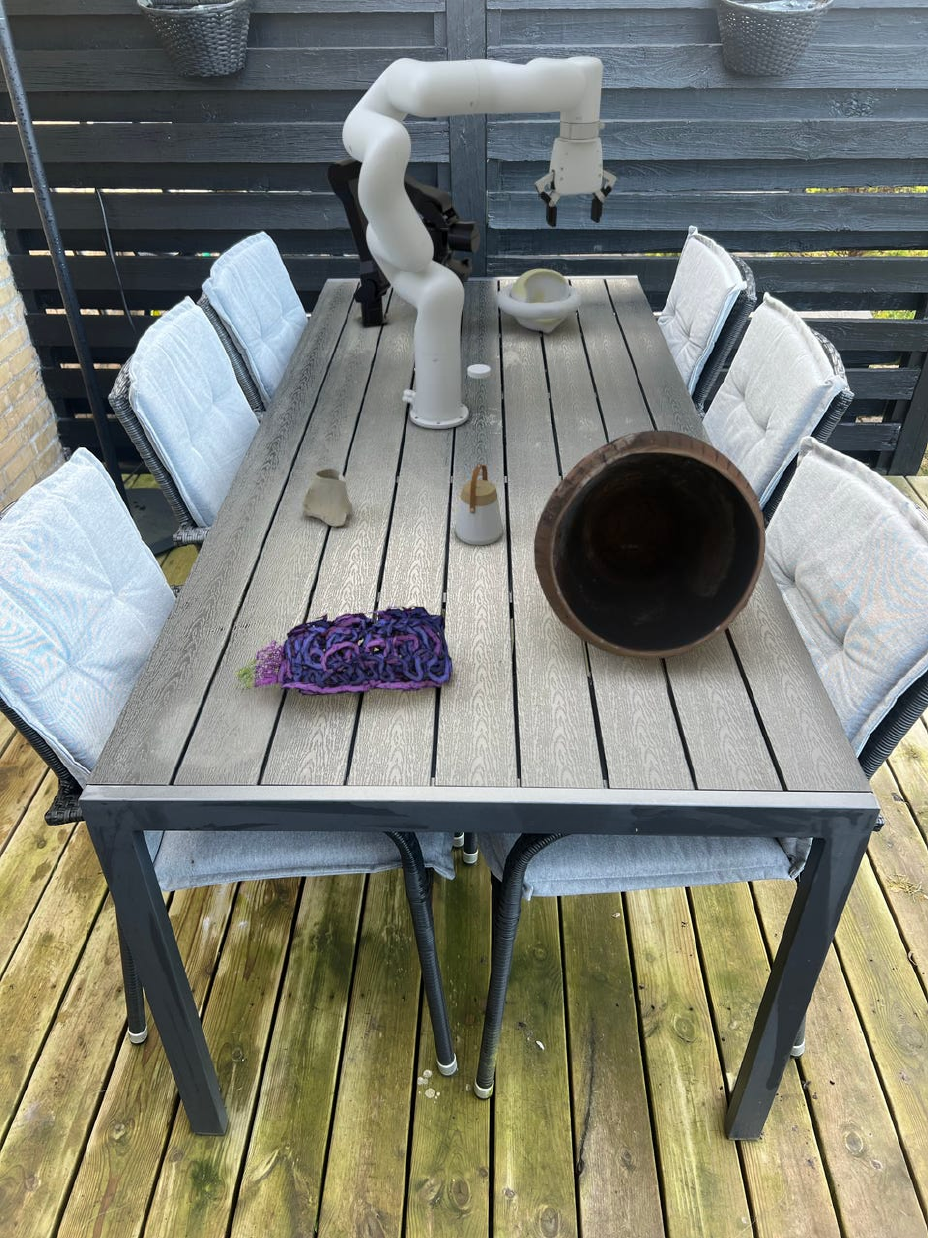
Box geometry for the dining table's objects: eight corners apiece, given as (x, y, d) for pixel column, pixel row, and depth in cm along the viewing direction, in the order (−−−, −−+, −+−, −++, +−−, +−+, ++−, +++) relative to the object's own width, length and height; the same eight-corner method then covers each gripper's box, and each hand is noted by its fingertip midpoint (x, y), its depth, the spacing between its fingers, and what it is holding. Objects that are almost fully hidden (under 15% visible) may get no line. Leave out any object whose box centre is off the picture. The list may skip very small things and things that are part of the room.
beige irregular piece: (352, 523, 169) (358, 468, 167) (345, 530, 162) (351, 474, 159) (303, 516, 169) (308, 461, 167) (294, 523, 162) (299, 466, 159)
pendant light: (493, 549, 158) (495, 382, 140) (448, 540, 161) (445, 375, 142) (508, 525, 164) (512, 362, 146) (465, 517, 167) (463, 355, 148)
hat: (489, 313, 250) (490, 256, 241) (569, 310, 251) (573, 252, 242) (502, 348, 230) (503, 287, 221) (589, 343, 232) (594, 283, 223)
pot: (569, 390, 148) (614, 390, 119) (739, 473, 153) (822, 494, 124) (483, 572, 154) (505, 616, 125) (649, 647, 159) (708, 705, 130)
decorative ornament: (458, 672, 122) (225, 684, 119) (455, 713, 130) (238, 725, 128) (450, 592, 130) (231, 602, 127) (447, 636, 138) (243, 646, 135)
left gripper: (448, 262, 218) (449, 328, 227) (483, 242, 231) (483, 305, 240) (407, 256, 222) (410, 321, 231) (444, 236, 235) (445, 298, 245)
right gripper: (611, 124, 186) (604, 215, 196) (530, 130, 182) (527, 222, 192) (627, 131, 180) (619, 224, 190) (544, 137, 176) (541, 232, 186)
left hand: (438, 311), depth 237 cm, fingers closed on tin, 5 cm apart
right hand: (573, 223), depth 191 cm, fingers open, 9 cm apart
